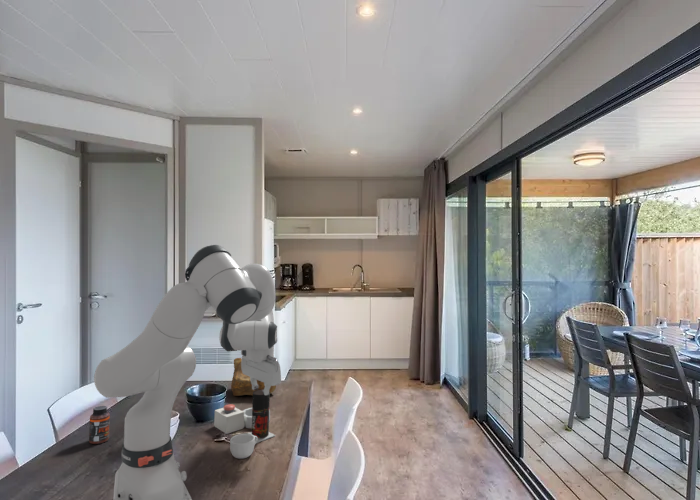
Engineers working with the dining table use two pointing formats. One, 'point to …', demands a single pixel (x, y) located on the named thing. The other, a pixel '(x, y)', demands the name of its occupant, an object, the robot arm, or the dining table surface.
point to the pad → (265, 437)
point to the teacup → (242, 445)
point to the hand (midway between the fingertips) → (260, 392)
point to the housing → (233, 420)
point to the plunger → (229, 408)
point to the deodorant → (260, 414)
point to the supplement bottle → (99, 425)
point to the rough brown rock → (244, 381)
